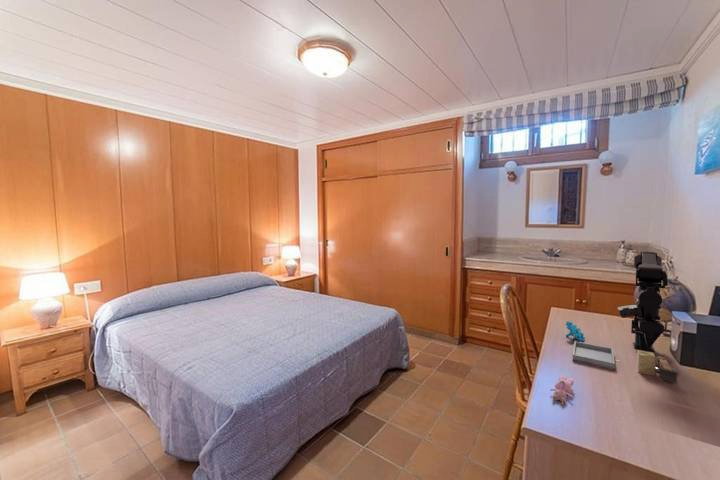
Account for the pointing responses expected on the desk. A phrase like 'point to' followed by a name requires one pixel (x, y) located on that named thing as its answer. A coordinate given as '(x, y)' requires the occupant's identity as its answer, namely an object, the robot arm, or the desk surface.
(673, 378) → the crank lever
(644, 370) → the stop block
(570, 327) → the blue branched piece
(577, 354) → the stop tray
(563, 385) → the rabbit figure
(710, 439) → the desk surface
